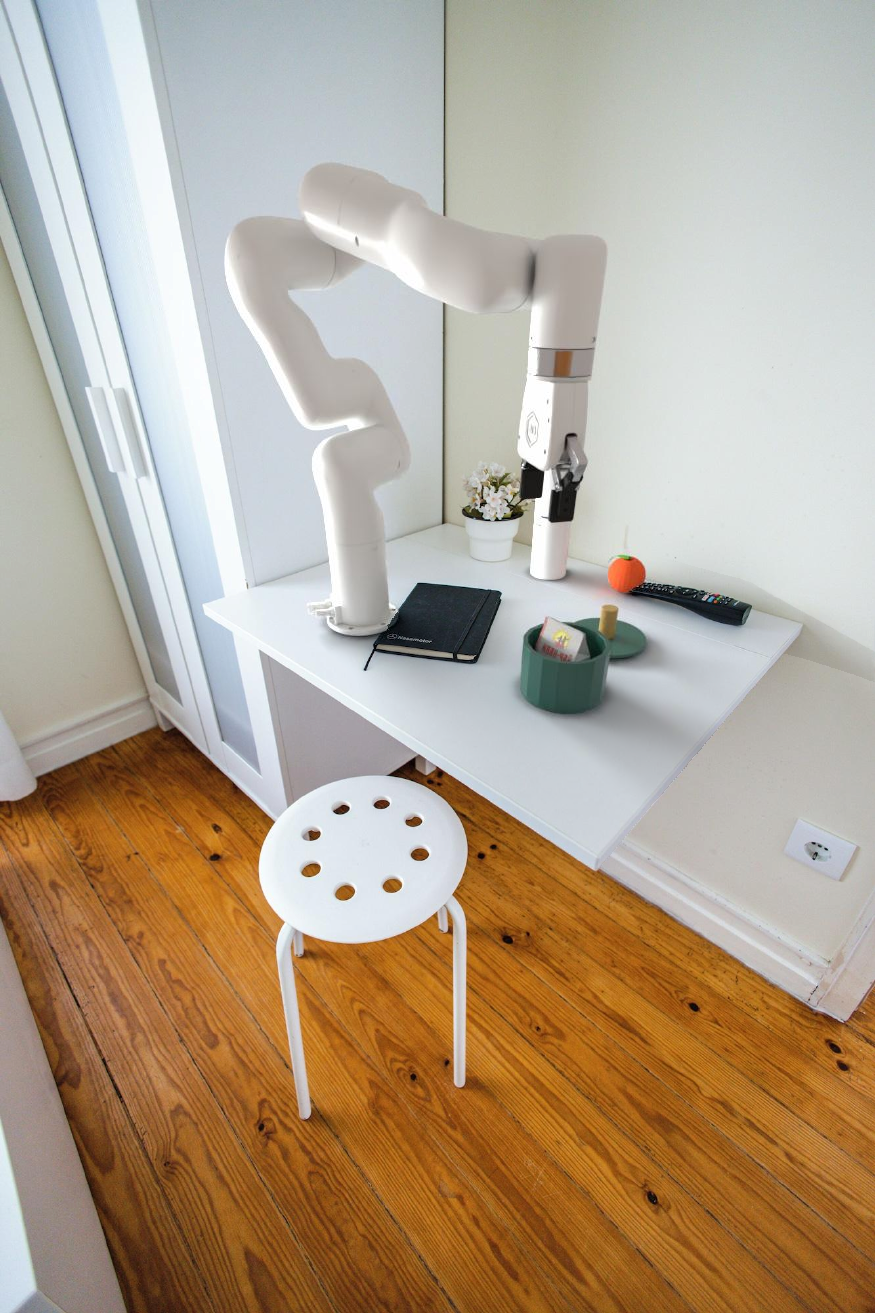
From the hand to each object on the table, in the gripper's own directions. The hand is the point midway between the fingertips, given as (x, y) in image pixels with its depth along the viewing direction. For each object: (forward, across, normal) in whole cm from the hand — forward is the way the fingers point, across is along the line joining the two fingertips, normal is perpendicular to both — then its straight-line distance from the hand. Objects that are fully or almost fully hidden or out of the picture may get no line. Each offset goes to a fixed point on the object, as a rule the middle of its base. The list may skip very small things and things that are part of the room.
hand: (544, 509), depth 78 cm
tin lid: (+24, -5, +16) cm, 29 cm away
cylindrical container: (+25, -34, +18) cm, 46 cm away
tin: (+25, +6, +2) cm, 26 cm away
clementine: (+25, -22, +28) cm, 44 cm away
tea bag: (+24, +6, +2) cm, 25 cm away
